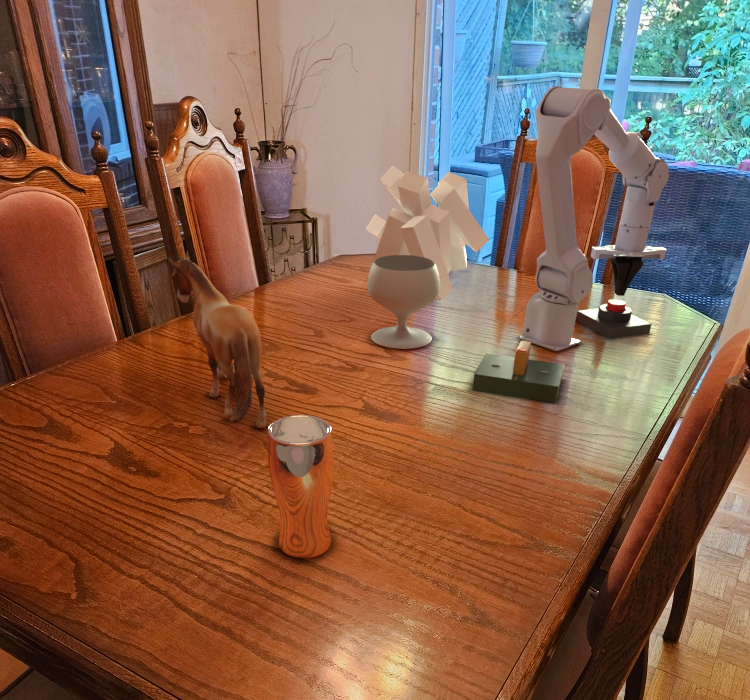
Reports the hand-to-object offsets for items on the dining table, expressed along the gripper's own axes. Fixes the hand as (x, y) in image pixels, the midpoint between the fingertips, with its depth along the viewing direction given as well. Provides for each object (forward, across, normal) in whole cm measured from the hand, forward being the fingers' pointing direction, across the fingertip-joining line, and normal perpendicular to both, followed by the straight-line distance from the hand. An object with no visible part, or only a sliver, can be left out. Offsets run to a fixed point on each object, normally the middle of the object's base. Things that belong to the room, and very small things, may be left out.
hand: (619, 294), depth 138 cm
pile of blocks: (+7, -37, +32) cm, 49 cm away
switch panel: (+7, -27, -30) cm, 41 cm away
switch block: (+7, 0, 0) cm, 7 cm away
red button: (+3, 0, 0) cm, 3 cm away
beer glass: (+7, -63, -73) cm, 97 cm away
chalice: (+7, -46, -7) cm, 47 cm away
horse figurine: (+7, -78, -39) cm, 88 cm away
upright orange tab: (+4, -27, -30) cm, 40 cm away
